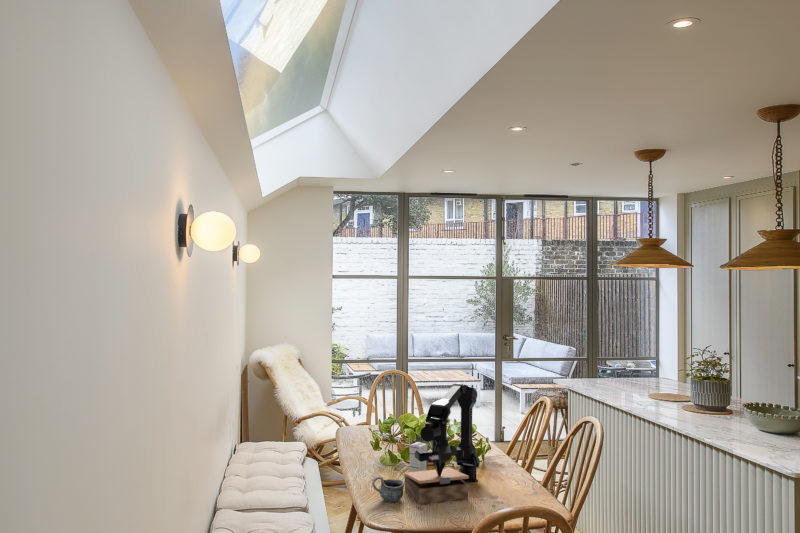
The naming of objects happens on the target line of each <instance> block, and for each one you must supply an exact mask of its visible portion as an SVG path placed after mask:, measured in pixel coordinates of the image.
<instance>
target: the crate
mask: <svg viewBox="0 0 800 533" xmlns="http://www.w3.org/2000/svg"><path fill="white" fill-rule="evenodd" d="M404 491H405V492H406V493H407V494H408V495H409V497H410V498H412V500H414V501H415V502H416V504H418V505H419V506H427V505H435V504H436V503H437V504H446V503H453V502H461V501H469V484H468V482H467V483H466V482H464V481H463V480H462V479H459V480H450V483H446V484H440V482H431V483H422V484H419V483H417V482H416V481H414V480H412V479H410V478H408V477H407V476H405V475H404ZM445 502H446V503H445Z"/></svg>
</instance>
